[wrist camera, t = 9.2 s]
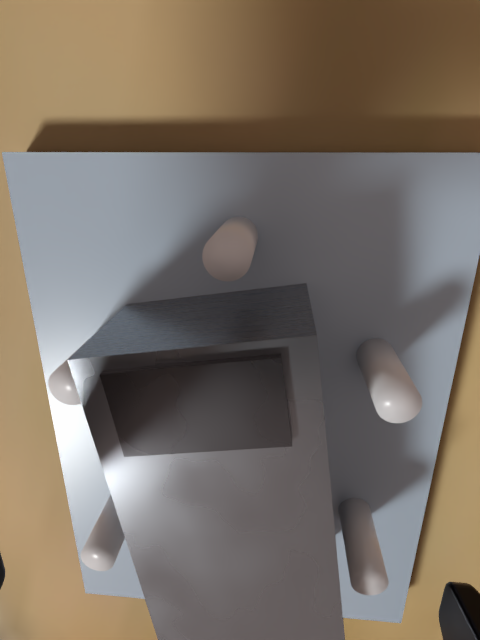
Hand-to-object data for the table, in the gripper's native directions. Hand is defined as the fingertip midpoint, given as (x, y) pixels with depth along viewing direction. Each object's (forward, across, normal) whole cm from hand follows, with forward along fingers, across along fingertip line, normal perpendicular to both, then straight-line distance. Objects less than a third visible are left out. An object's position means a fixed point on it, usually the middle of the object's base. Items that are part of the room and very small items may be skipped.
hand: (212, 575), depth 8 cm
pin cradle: (+6, 0, 0) cm, 6 cm away
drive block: (+5, 0, 0) cm, 5 cm away
